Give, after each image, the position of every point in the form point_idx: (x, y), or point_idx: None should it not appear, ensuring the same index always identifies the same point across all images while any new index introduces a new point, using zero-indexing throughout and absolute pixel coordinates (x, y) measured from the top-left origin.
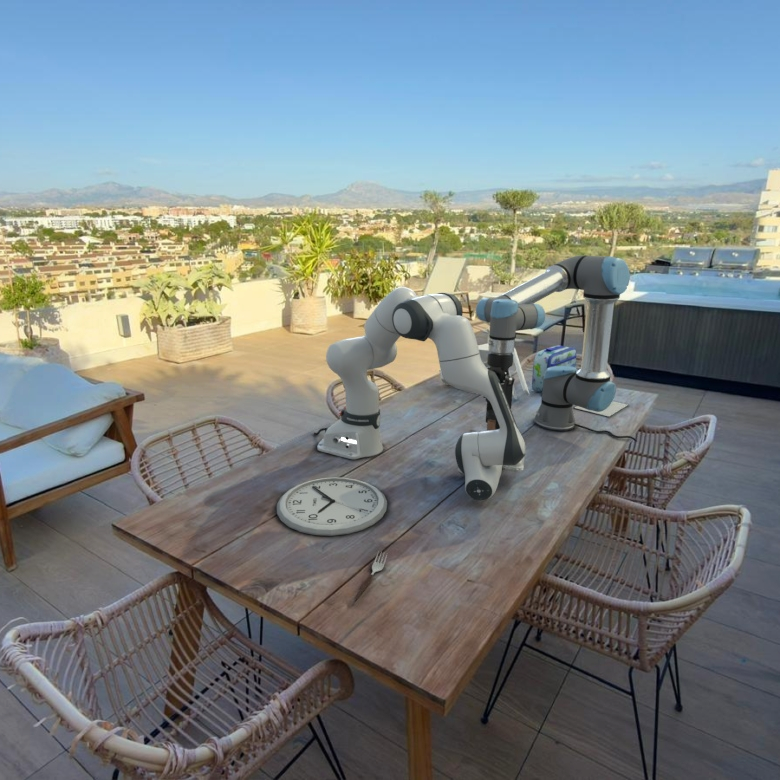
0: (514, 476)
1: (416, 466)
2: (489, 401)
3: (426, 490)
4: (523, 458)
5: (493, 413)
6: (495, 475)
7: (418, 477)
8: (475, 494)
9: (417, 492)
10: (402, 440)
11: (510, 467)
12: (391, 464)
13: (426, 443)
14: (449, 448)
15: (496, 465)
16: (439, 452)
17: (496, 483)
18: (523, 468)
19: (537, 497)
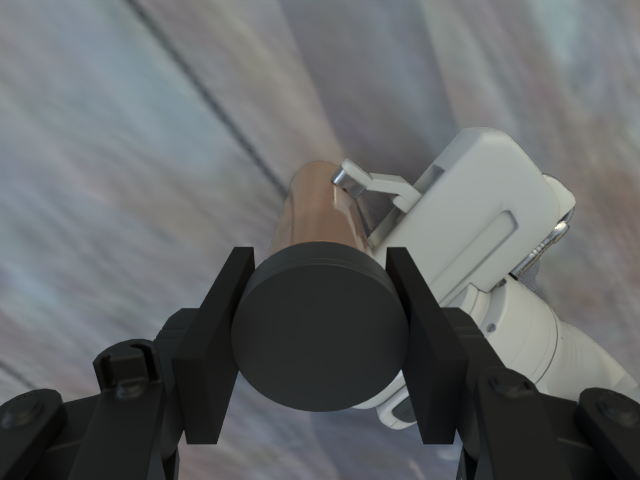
0: (416, 137)
1: (237, 404)
2: (180, 430)
3: (389, 427)
4: (531, 161)
5: (343, 377)
6: (627, 387)
7: (309, 421)
8: None
9: (390, 448)
10: (19, 380)
11: (540, 251)
12: (209, 454)
13: (50, 318)
14: (106, 259)
15: (566, 349)
16: (140, 307)
17: (628, 374)
18: (569, 193)
19: (592, 149)
